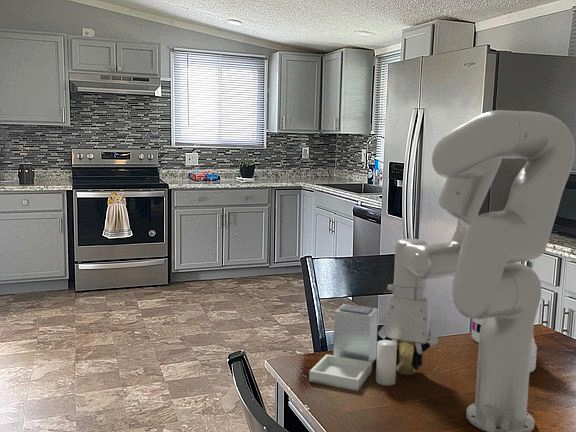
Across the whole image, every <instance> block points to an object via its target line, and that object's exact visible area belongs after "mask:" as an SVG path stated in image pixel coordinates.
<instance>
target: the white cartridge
mask: <svg viewBox="0 0 576 432" xmlns="http://www.w3.org/2000/svg"><path fill="white" fill-rule="evenodd" d="M397 345H398V344H397V343H396V342H394V341H390V340H384V339H382V340H377V349H376V370H375V382H376V383H378V385H381V386H394V385H395V384H396V379H397V378H396V377H397V366H396V357H397Z"/></svg>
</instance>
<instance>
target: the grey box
mask: <svg viewBox="0 0 576 432" xmlns="http://www.w3.org/2000/svg"><path fill="white" fill-rule="evenodd" d="M378 317H379V308H378V307H377V308H376V307H371V306H365V305H364V306H363V305H357V304H350V303H349V304H348V303H343V304H342V305H340V306H339V307H337V309H335V310H334V320H333V321H334V322H333V323H334V324H333V328H334V329H333V355H334V356H340V357H345V358H351V359H357V360H363V361H369V362H372V364H373V363H375V361H377V342H378V319H379V318H378Z"/></svg>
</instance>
